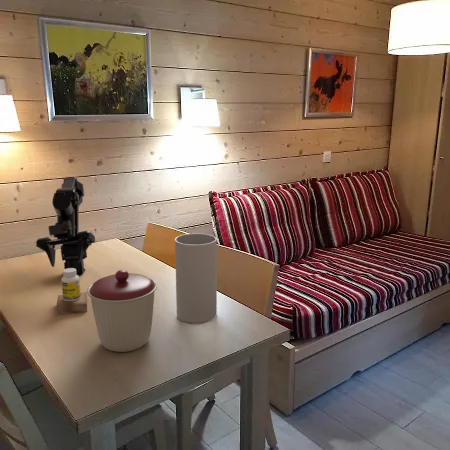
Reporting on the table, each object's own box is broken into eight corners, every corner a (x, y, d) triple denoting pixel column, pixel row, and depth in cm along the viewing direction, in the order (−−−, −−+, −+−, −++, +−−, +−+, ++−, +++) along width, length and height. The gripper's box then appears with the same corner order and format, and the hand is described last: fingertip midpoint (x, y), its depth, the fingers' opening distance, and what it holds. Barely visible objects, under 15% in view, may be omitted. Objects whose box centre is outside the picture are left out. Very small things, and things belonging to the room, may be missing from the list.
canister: (79, 341, 118) (73, 270, 113) (135, 320, 130) (132, 255, 125) (113, 368, 105) (108, 289, 100) (172, 342, 118) (170, 270, 113)
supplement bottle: (60, 301, 136) (57, 272, 133) (67, 294, 141) (64, 266, 139) (76, 302, 135) (74, 273, 133) (83, 295, 141) (81, 267, 138)
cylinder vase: (209, 304, 142) (208, 231, 136) (222, 320, 131) (222, 242, 124) (172, 310, 138) (170, 235, 131) (182, 327, 126) (181, 246, 120)
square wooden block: (87, 300, 144) (86, 291, 144) (87, 311, 136) (86, 302, 135) (58, 303, 142) (58, 294, 141) (57, 315, 133) (56, 306, 133)
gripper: (28, 218, 143) (26, 262, 137) (82, 208, 142) (82, 253, 136) (44, 229, 153) (43, 271, 147) (95, 220, 152) (96, 262, 146)
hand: (66, 264), depth 144 cm, fingers open, 9 cm apart
